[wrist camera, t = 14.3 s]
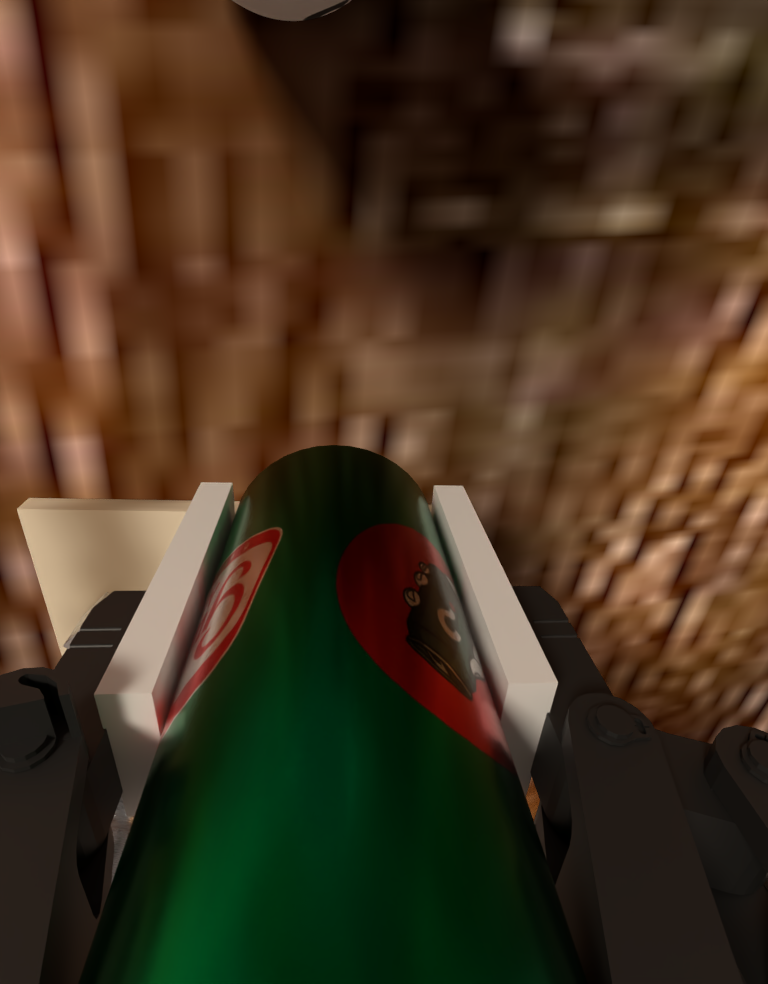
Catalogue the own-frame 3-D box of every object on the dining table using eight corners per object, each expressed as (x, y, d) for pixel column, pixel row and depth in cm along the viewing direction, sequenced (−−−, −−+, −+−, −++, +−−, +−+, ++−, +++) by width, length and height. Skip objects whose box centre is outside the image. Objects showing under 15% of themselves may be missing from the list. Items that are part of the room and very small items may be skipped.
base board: (122, 817, 35) (114, 838, 34) (29, 498, 24) (13, 512, 22) (422, 807, 36) (424, 826, 35) (467, 505, 25) (473, 519, 24)
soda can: (245, 421, 13) (-247, 1535, 2) (448, 451, 13) (896, 1349, 3) (231, 590, 15) (-31, 1543, 4) (406, 607, 16) (564, 1440, 5)
